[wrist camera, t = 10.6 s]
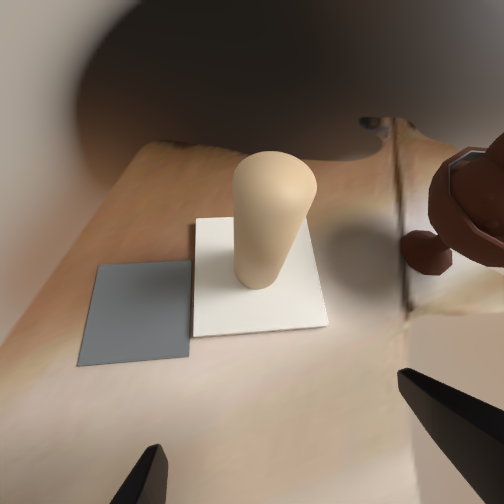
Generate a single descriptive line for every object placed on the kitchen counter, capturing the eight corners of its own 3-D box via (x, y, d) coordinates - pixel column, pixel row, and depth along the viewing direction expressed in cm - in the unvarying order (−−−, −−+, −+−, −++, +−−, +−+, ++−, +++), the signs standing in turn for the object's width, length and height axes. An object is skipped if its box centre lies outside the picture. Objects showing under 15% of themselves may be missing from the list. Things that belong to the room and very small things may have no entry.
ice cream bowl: (371, 280, 24) (540, 174, 11) (382, 200, 29) (510, 56, 15) (477, 317, 23) (818, 252, 10) (471, 228, 28) (693, 99, 14)
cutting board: (325, 327, 22) (329, 325, 21) (195, 337, 21) (193, 336, 20) (302, 219, 27) (305, 214, 26) (197, 223, 26) (196, 218, 25)
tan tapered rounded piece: (281, 287, 22) (325, 214, 11) (235, 290, 22) (235, 218, 11) (275, 246, 24) (308, 151, 13) (233, 248, 24) (230, 151, 13)
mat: (189, 356, 20) (188, 356, 20) (78, 366, 19) (77, 366, 19) (191, 260, 24) (191, 260, 24) (100, 265, 23) (98, 265, 23)
